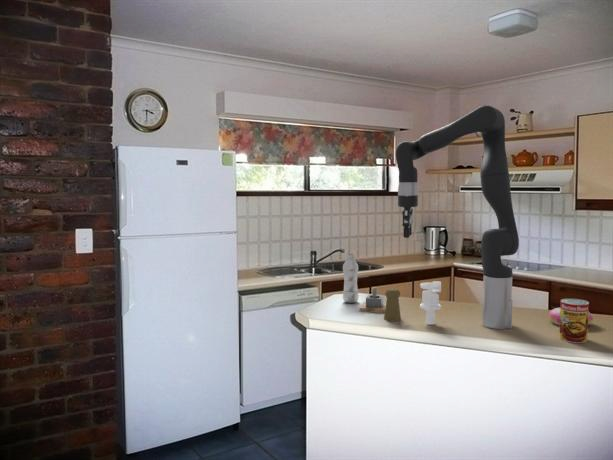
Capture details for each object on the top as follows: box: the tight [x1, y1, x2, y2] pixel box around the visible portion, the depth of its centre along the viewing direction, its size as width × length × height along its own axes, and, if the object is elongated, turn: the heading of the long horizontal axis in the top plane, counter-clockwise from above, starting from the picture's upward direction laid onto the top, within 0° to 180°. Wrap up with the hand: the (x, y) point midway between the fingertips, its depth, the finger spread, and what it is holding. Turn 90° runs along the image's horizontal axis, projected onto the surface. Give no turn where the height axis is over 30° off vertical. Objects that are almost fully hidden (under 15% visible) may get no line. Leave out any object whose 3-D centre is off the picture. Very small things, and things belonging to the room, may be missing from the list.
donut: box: [548, 307, 594, 327], centre depth 183 cm, size 14×13×5 cm
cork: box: [383, 287, 402, 322], centre depth 191 cm, size 6×6×11 cm
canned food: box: [558, 298, 590, 344], centre depth 165 cm, size 8×8×12 cm
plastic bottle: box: [342, 253, 360, 304], centre depth 216 cm, size 6×7×20 cm
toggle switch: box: [358, 287, 386, 314], centre depth 206 cm, size 10×10×8 cm
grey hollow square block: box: [365, 294, 384, 308], centre depth 206 cm, size 6×6×4 cm
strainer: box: [419, 280, 442, 326], centre depth 184 cm, size 7×7×15 cm
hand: (407, 236), depth 205 cm, fingers open, 8 cm apart
